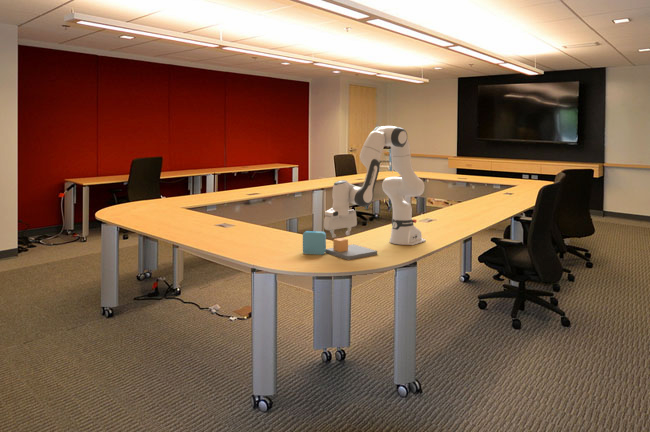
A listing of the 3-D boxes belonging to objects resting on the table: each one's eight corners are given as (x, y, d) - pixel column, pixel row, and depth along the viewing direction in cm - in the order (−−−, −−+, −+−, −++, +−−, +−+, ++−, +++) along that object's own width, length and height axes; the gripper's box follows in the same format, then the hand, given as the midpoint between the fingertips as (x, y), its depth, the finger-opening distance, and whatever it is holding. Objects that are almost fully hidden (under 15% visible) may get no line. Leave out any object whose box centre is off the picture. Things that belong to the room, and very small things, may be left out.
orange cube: (341, 248, 282) (341, 237, 281) (347, 250, 278) (347, 239, 277) (333, 249, 279) (333, 239, 278) (339, 251, 274) (339, 240, 273)
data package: (325, 253, 281) (325, 231, 279) (324, 255, 276) (324, 233, 274) (304, 252, 283) (304, 230, 281) (302, 254, 278) (302, 232, 276)
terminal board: (353, 247, 293) (353, 236, 292) (377, 254, 277) (377, 242, 276) (325, 252, 281) (325, 241, 280) (348, 260, 265) (348, 247, 264)
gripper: (352, 208, 283) (352, 232, 286) (322, 212, 272) (322, 237, 274) (359, 209, 278) (359, 234, 281) (329, 213, 267) (329, 239, 269)
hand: (340, 236), depth 277 cm, fingers open, 8 cm apart
